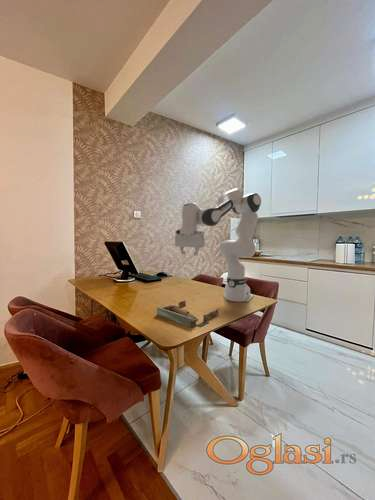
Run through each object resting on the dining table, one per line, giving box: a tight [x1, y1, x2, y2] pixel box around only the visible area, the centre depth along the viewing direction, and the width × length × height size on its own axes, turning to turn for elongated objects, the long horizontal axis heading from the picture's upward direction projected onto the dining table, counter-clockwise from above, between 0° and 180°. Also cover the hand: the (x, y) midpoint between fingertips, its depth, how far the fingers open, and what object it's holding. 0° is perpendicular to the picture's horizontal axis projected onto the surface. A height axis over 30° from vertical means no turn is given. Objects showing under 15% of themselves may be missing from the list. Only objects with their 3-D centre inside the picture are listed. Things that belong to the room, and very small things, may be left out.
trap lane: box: [156, 300, 219, 329], centre depth 117 cm, size 22×24×4 cm
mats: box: [172, 305, 210, 328], centre depth 117 cm, size 8×33×1 cm, turn 36°
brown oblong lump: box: [169, 306, 199, 322], centre depth 115 cm, size 18×7×7 cm
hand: (189, 254), depth 130 cm, fingers open, 8 cm apart
